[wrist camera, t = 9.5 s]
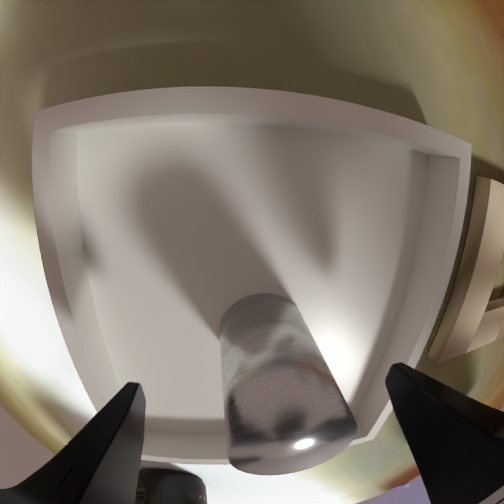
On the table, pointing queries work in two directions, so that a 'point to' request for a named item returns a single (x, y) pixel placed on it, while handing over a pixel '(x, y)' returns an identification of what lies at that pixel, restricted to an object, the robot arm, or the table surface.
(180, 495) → the supplement bottle
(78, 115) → the tray
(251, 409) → the steel pin
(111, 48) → the table surface
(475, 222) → the socket block
